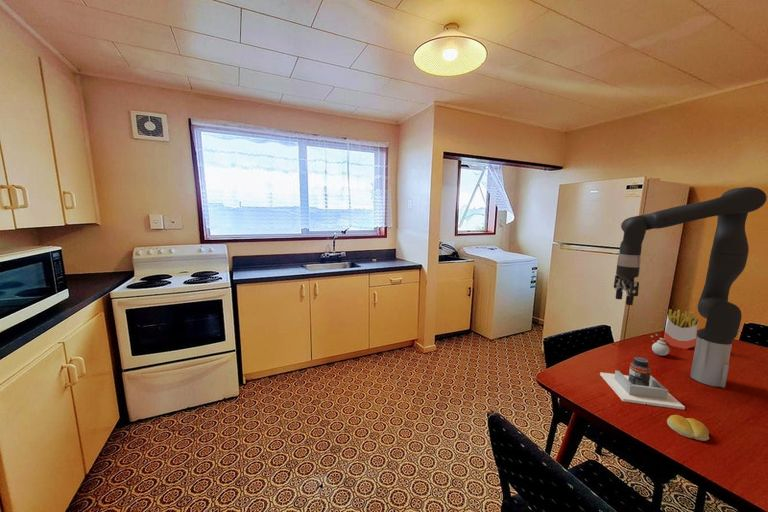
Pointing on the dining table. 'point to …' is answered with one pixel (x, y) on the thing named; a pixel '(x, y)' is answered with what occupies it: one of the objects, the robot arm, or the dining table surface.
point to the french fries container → (681, 329)
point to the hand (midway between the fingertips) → (623, 301)
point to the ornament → (660, 347)
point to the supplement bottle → (639, 372)
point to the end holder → (641, 391)
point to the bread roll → (688, 427)
